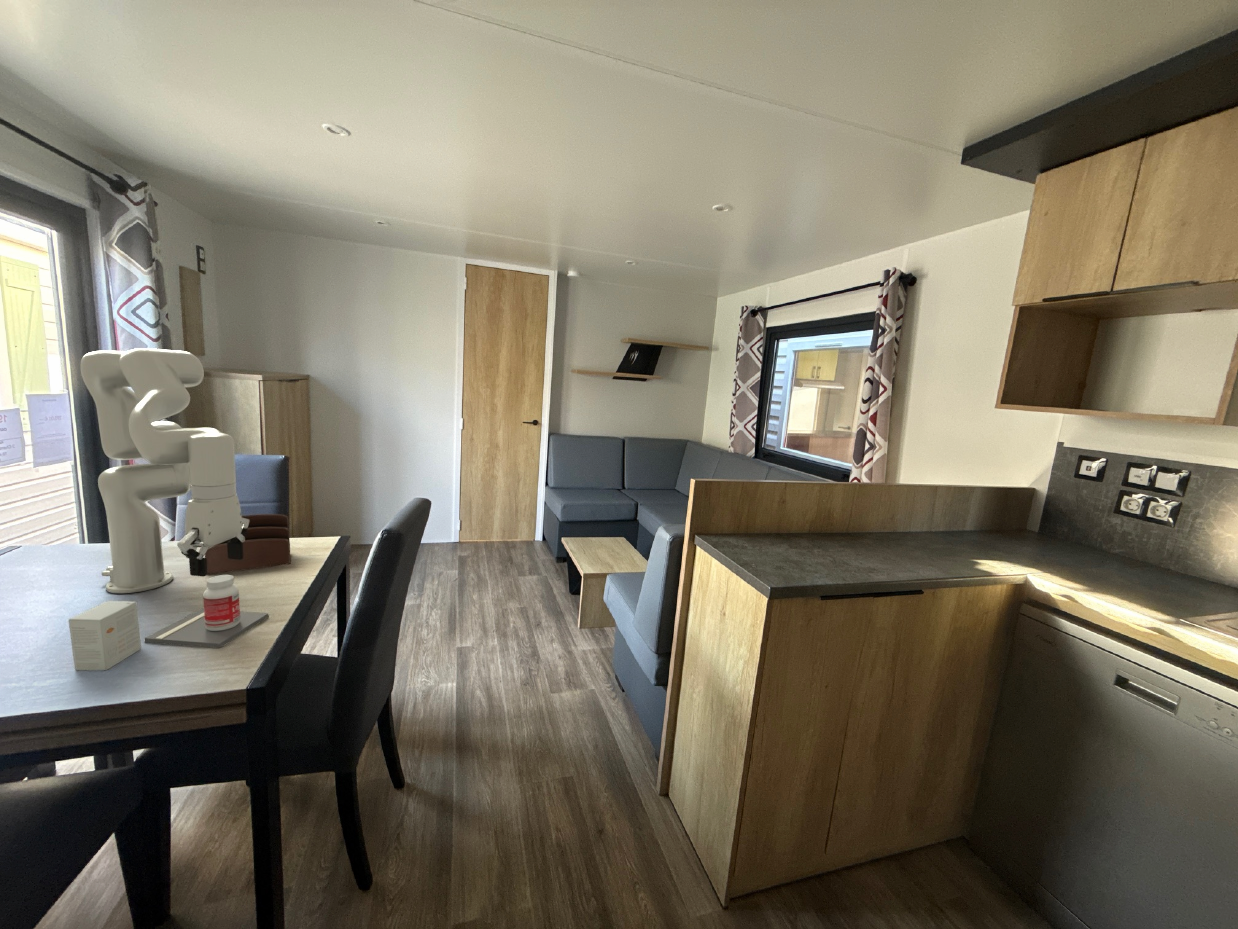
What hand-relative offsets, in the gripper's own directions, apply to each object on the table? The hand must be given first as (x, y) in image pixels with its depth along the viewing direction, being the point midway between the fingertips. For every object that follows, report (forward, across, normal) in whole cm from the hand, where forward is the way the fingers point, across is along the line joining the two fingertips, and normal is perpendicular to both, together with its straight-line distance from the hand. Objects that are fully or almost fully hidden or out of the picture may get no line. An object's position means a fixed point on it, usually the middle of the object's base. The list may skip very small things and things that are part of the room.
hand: (218, 566), depth 108 cm
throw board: (+15, 0, -2) cm, 15 cm away
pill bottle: (+14, 0, +1) cm, 14 cm away
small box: (+15, +14, -11) cm, 23 cm away
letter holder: (+16, -37, -22) cm, 46 cm away
